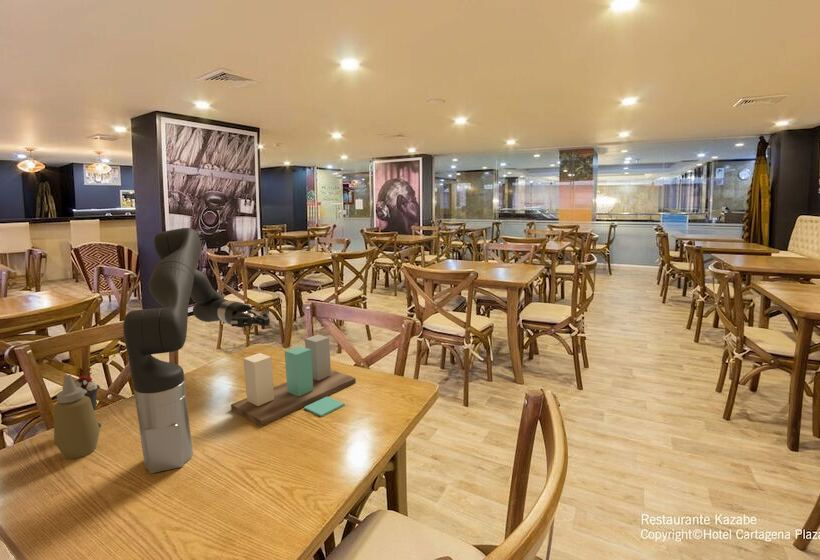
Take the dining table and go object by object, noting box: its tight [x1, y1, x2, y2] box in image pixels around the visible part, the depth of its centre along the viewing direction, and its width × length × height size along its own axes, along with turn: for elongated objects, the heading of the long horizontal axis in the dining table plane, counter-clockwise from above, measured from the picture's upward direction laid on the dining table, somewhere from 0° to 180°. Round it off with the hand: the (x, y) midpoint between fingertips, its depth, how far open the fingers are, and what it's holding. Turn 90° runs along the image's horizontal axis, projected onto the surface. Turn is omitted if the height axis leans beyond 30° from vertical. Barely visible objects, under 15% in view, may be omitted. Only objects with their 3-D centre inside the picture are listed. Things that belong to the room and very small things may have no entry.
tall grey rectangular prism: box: [304, 334, 332, 381], centre depth 133 cm, size 5×5×12 cm
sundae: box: [74, 367, 102, 429], centre depth 107 cm, size 7×7×15 cm
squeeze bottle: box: [52, 374, 101, 460], centre depth 97 cm, size 8×8×18 cm
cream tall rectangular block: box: [243, 352, 274, 406], centre depth 118 cm, size 5×5×12 cm
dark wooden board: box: [230, 369, 357, 427], centre depth 125 cm, size 14×32×2 cm, turn 141°
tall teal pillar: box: [284, 345, 313, 397], centre depth 123 cm, size 5×5×12 cm
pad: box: [303, 395, 346, 418], centre depth 118 cm, size 7×8×1 cm
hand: (267, 322), depth 129 cm, fingers closed
